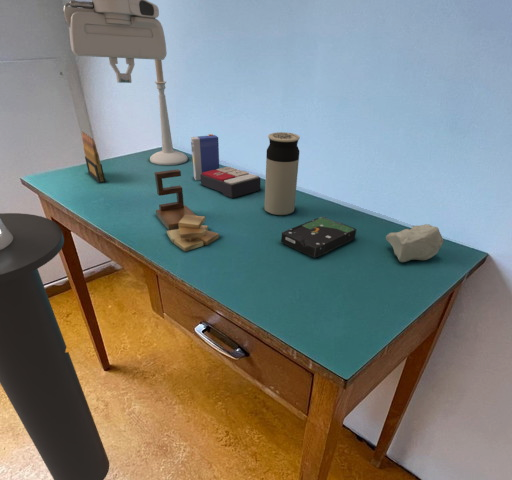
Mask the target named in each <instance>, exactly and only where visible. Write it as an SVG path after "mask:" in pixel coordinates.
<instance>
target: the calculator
mask: <svg viewBox="0 0 512 480" xmlns="http://www.w3.org/2000/svg"><path fill="white" fill-rule="evenodd" d="M200 177H201V180H200V185H201V186H204V187H207V188H209V189H212V190H214V191H218V192H221V194H223V195H224V197H225V196H226V197H227V198H231V199H235V198H238V197H241V196H244V195H248V194H252V193H254V192H258V191H261V177H260V176H259V175H256V174H253V173H250V172H248V171H246V170H242V169H237V168H235V167H231V166H224V167H219V169H216V170H211V171H207V172H203V173H202V174H201V175H200Z"/></svg>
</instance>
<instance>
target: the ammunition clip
mask: <svg viewBox="0 0 512 480" xmlns="http://www.w3.org/2000/svg"><path fill="white" fill-rule="evenodd" d="M81 139H82V144H83V152H84V159H85V162H86V167H87V172H88V175H89V176H91V177H92V178H93V179H94V180H95V181H96V182H97V183H98V184H103V183H106V177H105V173H104V169H103V165H102V162H101V159H100V155H99V153H98V150H97V145H96V142H95V140H94V138H93V137H91V136H89V135H88V134H87V133H86V132H84V131H81Z"/></svg>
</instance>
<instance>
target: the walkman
mask: <svg viewBox="0 0 512 480" xmlns="http://www.w3.org/2000/svg"><path fill="white" fill-rule="evenodd" d="M190 146H191V147H190V148H191V155H192V166H193V167H192V168H193V178H194V180H195V181H201V177H200V175H201V174H202V173H203V172H207V171H211V170H216V169H219V168H220V150H219V148H220V147H219V137H218V135H215V134H212V133H209V134H208V135H199V136H190Z"/></svg>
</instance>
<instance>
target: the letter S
mask: <svg viewBox="0 0 512 480" xmlns="http://www.w3.org/2000/svg"><path fill="white" fill-rule="evenodd" d="M181 176H182V172H181V170H180V169H170V170H162V171H155V172H154V181H155V188H156V194H157V195H158V196H160V197H162V196H167V195H174V194H176V201H173V202H167V203H166V202H165V203H161V204H158V209H155V215H156V217H157V218H158V220H159V221H160V222H161V223H162V224H163V226H164V227H165V228H166V230H167V231H169V230H176V229H179V225H178V222H179V221H180V220H181V219H182V218H183V217H184V215H195V216H197V215H196V214H195V213H194V212H193V211H192V210H191V208H189V207H188V206H187V205H186V204H185V203H184V193H183V192H184V191H183V187H182V186H181V185H175V186H166V187H164V185H163V183H164V182H163V179H167V178H168V179H170V178H177V177H181Z"/></svg>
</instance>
